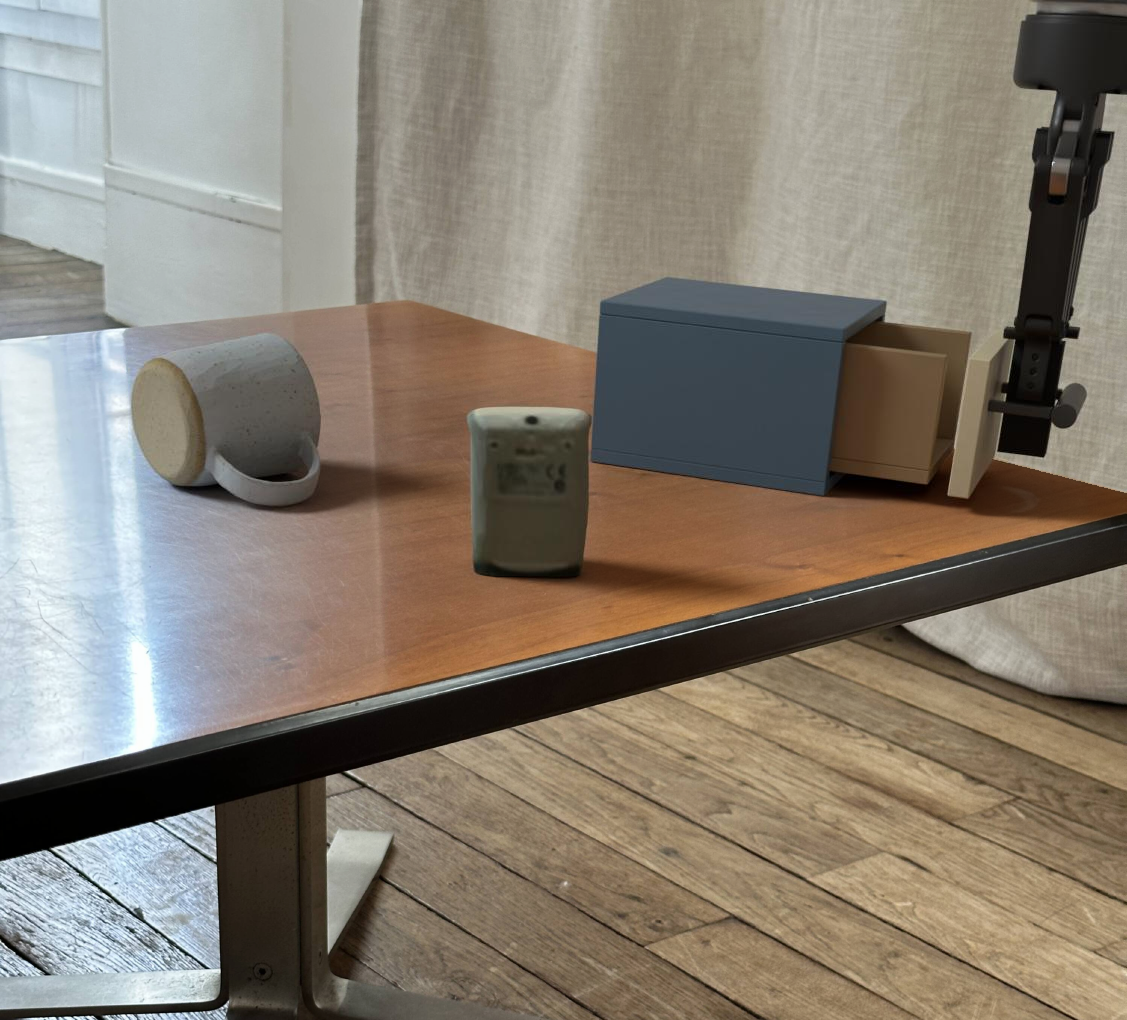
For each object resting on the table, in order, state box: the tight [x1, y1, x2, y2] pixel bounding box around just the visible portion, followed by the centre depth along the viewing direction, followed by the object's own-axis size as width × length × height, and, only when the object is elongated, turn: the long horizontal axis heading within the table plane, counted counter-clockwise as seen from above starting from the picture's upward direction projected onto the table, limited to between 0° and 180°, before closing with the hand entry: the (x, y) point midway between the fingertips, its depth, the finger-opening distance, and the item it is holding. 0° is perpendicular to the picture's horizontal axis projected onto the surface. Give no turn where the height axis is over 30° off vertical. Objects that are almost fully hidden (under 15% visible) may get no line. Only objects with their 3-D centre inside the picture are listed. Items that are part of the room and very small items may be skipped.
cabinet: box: [589, 276, 888, 497], centre depth 99 cm, size 15×13×10 cm
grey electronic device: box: [466, 406, 593, 578], centre depth 75 cm, size 6×5×8 cm
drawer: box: [830, 321, 1088, 499], centre depth 95 cm, size 18×11×8 cm, turn 69°
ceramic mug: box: [130, 332, 322, 507], centre depth 87 cm, size 11×8×8 cm
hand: (1021, 451), depth 94 cm, fingers closed
